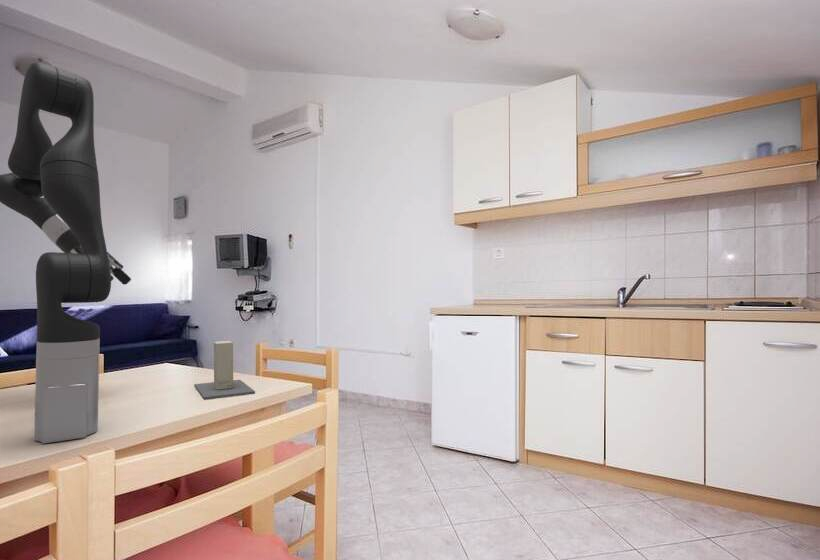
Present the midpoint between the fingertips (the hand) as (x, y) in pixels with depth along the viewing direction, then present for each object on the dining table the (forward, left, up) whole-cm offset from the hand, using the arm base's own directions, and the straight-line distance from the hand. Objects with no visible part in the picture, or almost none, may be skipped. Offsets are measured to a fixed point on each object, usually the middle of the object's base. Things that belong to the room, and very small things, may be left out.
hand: (119, 281), depth 110 cm
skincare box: (-5, -24, -28) cm, 37 cm away
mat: (-5, -24, -29) cm, 38 cm away
